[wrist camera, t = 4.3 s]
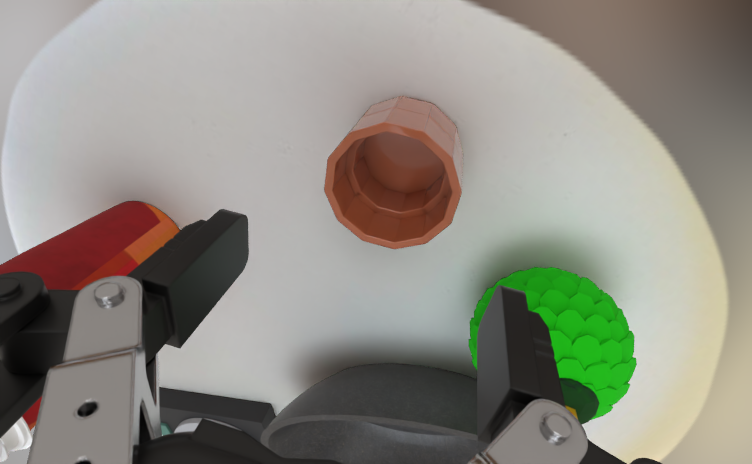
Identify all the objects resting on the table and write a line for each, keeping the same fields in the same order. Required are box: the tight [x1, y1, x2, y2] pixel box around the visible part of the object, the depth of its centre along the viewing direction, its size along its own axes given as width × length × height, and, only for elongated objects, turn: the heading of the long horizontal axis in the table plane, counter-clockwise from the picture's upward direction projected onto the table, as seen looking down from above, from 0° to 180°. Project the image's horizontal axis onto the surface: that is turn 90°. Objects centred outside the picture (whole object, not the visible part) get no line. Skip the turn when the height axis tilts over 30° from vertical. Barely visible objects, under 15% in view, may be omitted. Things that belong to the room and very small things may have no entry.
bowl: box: [261, 364, 489, 464], centre depth 30 cm, size 12×22×6 cm, turn 96°
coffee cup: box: [0, 201, 180, 462], centre depth 23 cm, size 8×8×15 cm
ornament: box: [469, 267, 636, 424], centre depth 20 cm, size 8×8×10 cm
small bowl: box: [324, 96, 463, 249], centre depth 19 cm, size 6×6×5 cm
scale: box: [159, 388, 275, 443], centre depth 41 cm, size 13×12×3 cm
